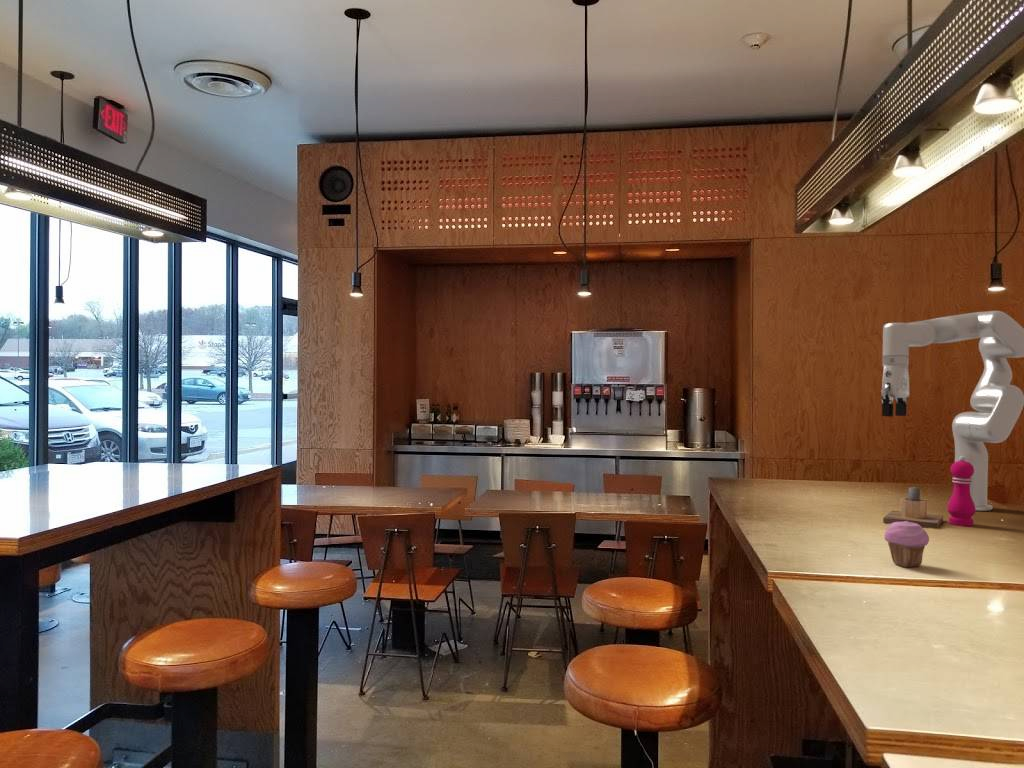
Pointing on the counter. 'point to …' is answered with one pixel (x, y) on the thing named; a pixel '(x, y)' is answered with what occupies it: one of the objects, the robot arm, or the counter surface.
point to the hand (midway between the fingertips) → (894, 416)
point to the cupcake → (906, 543)
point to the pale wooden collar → (913, 508)
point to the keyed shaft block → (928, 522)
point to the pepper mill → (961, 494)
